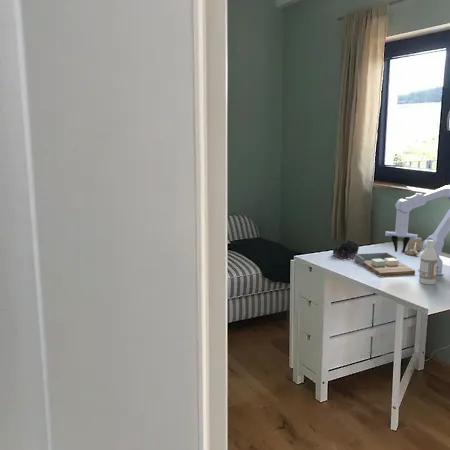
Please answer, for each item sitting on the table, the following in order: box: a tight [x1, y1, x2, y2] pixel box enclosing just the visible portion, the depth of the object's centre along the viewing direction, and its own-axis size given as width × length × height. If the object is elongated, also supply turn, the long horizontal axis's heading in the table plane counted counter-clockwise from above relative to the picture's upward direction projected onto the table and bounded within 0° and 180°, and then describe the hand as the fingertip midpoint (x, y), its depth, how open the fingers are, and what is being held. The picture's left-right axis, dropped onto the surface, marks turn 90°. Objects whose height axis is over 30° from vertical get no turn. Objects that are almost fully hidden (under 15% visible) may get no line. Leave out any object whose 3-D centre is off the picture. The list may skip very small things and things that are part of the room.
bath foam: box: [418, 240, 437, 286], centre depth 233 cm, size 7×7×20 cm
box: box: [354, 251, 397, 266], centre depth 267 cm, size 10×18×4 cm, turn 101°
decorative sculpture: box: [400, 237, 423, 256], centre depth 286 cm, size 16×10×7 cm, turn 153°
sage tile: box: [371, 259, 386, 267], centre depth 255 cm, size 5×5×2 cm
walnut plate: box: [362, 261, 416, 277], centre depth 253 cm, size 18×18×2 cm
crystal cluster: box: [332, 239, 360, 260], centre depth 278 cm, size 13×14×10 cm
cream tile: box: [384, 258, 400, 266], centre depth 256 cm, size 5×5×2 cm
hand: (399, 251), depth 248 cm, fingers open, 3 cm apart
